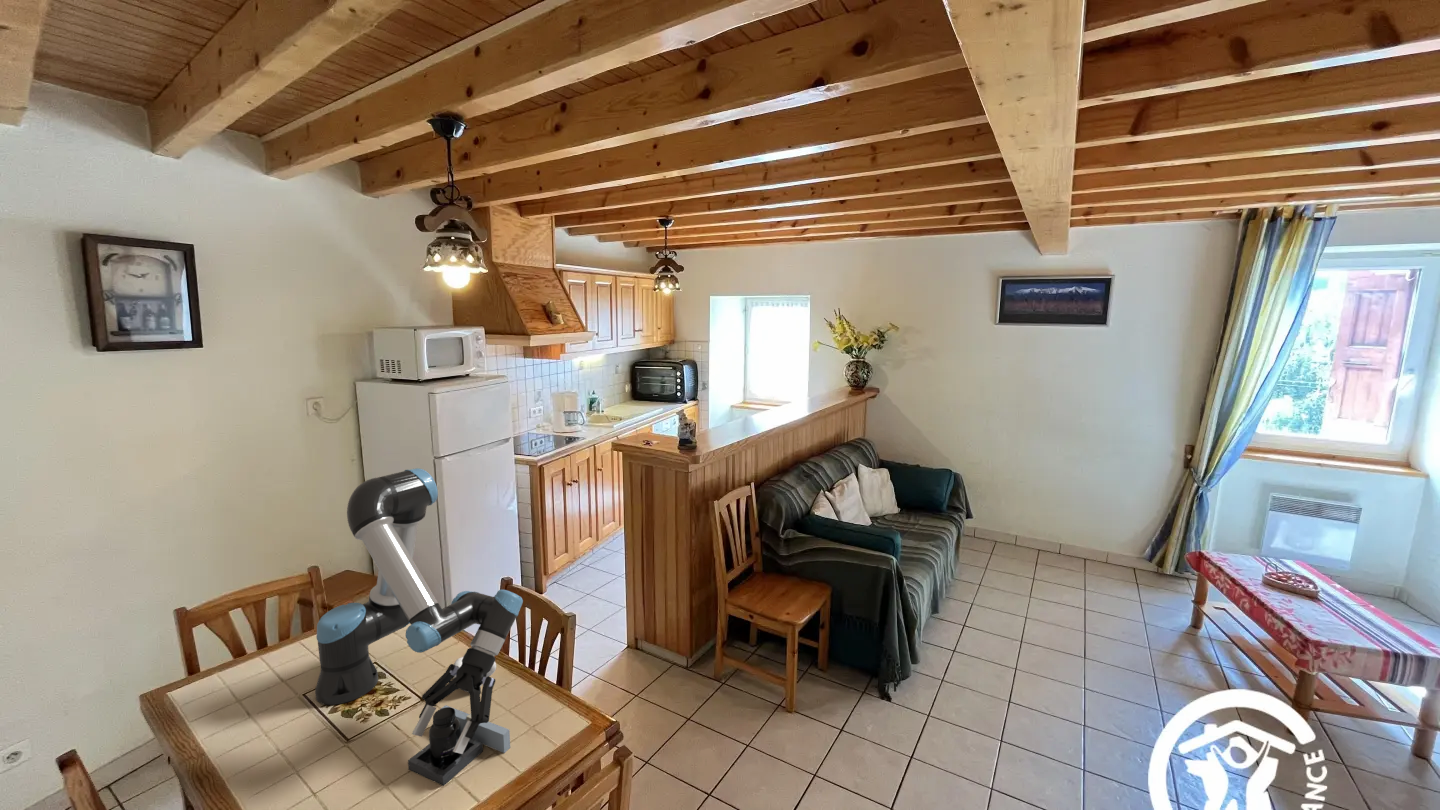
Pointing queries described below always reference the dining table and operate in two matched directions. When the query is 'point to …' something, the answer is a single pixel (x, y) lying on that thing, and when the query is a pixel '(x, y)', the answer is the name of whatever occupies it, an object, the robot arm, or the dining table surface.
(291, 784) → the dining table surface
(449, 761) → the supplement bottle
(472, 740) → the keeper frame
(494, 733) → the door edge plank
